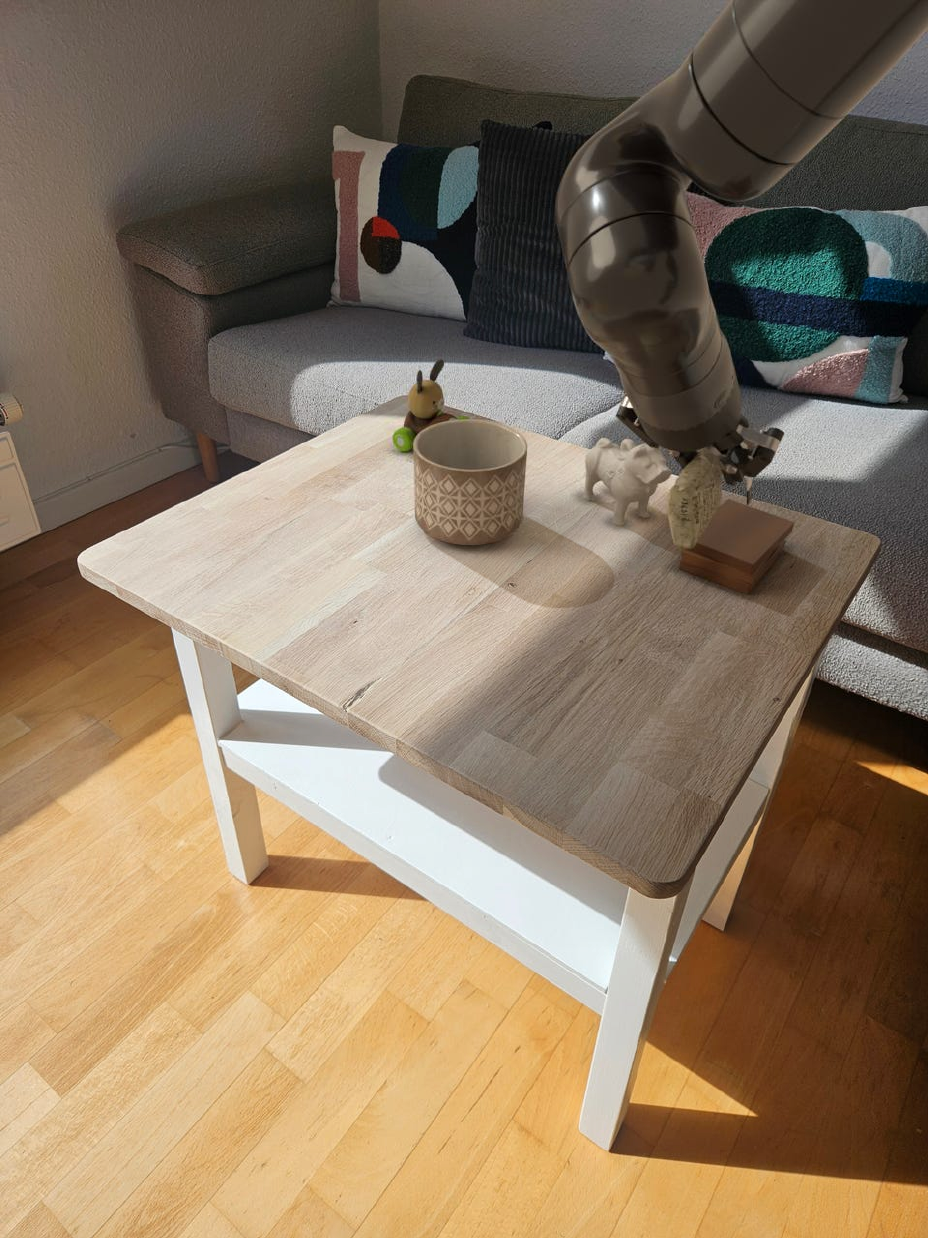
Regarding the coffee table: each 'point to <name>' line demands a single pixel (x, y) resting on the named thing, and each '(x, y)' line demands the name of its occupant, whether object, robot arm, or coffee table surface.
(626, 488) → the dog figurine
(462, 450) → the planter
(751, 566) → the slab pile
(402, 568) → the coffee table surface
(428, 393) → the bunny pull toy
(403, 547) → the coffee table surface
